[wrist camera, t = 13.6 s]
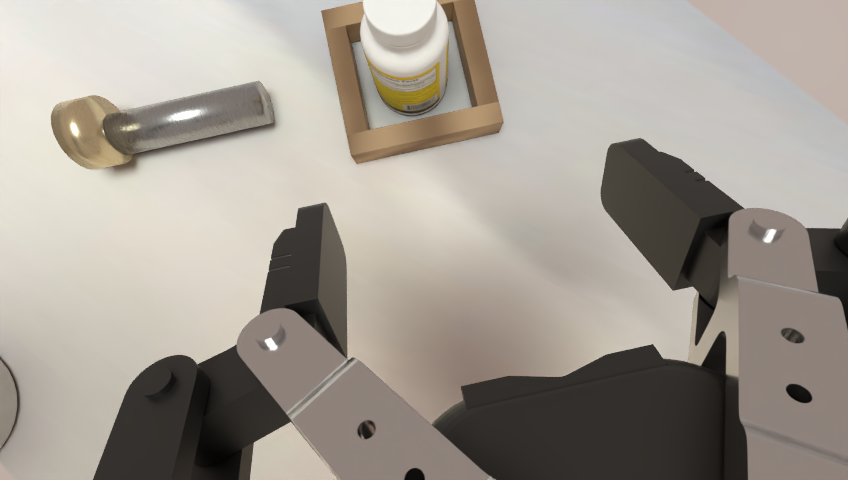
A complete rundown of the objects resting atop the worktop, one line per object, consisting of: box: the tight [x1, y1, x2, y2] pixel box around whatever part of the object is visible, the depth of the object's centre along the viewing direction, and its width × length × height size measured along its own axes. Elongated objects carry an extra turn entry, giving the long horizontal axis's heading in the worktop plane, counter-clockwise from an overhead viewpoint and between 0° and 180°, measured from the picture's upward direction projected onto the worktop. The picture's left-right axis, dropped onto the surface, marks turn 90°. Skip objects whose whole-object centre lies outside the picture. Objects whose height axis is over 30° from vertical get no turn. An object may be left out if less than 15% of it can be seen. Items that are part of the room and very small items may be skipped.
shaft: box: [51, 81, 274, 170], centre depth 29 cm, size 14×5×5 cm, turn 102°
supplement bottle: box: [360, 0, 449, 115], centre depth 27 cm, size 5×5×10 cm
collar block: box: [321, 0, 503, 163], centre depth 30 cm, size 11×11×2 cm
